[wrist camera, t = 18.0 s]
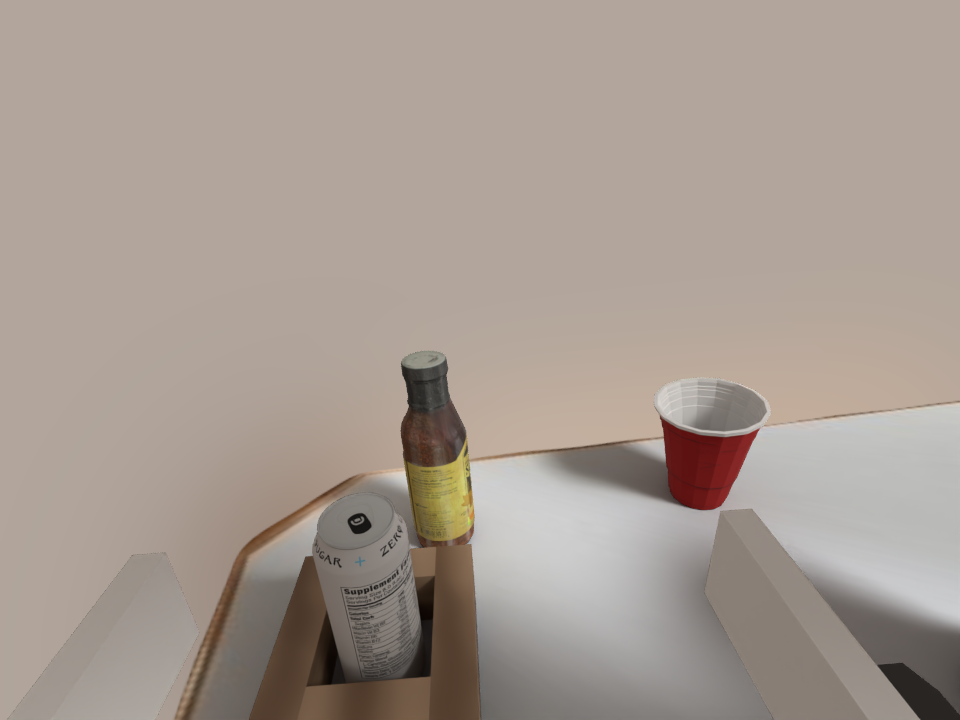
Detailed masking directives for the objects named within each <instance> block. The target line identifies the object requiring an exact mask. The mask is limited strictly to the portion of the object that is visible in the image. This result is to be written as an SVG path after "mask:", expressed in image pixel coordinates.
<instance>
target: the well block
mask: <svg viewBox="0 0 960 720" xmlns="http://www.w3.org/2000/svg"><path fill="white" fill-rule="evenodd" d="M410 552H411V559H412V566H413V573H414V579H415V586H416V593H417V600H418V607H419V614H420V620H421V627H422V634H423V641H424V648H425V664H424V669H423V671H422V674H421V676H420V677H419V678H407V679H395V680H383V681H370V682H358V683H346V681H345V677H344V673H343V669H342V666H341V662H340V658H339V654H338V650H337V646H336V642H335V639H334V635H333V631H332V627H331V623H330V619H329V615H328V612H327V608H326V604H325V600H324V596H323V592H322V589H321V585H320V581H319V577H318V573H317V569H316V565H315V562H314V558H313V556H308V557H305V560H304V563H303V566H302V568H301V571H300V574H299V577H298V580H297V583H296V586H295V589H294V591H293V594H292V597H291V600H290V603H289V606H288V609H287V611H286V614H285V617H284V620H283V623H282V626H281V629H280V632H279V634H278V637H277V640H276V643H275V646H274V649H273V652H272V654H271V657H270V660H269V663H268V666H267V669H266V672H265V675H264V677H263V680H262V683H261V686H260V689H259V692H258V695H257V697H256V700H255V703H254V706H253V709H252V712H251V715H250V718H249V720H481V705H480V684H479V663H478V642H477V622H476V601H475V585H474V572H473V559H472V546H471V544H467V545H454V546H440V547H427V548H414V549H410Z"/></svg>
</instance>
